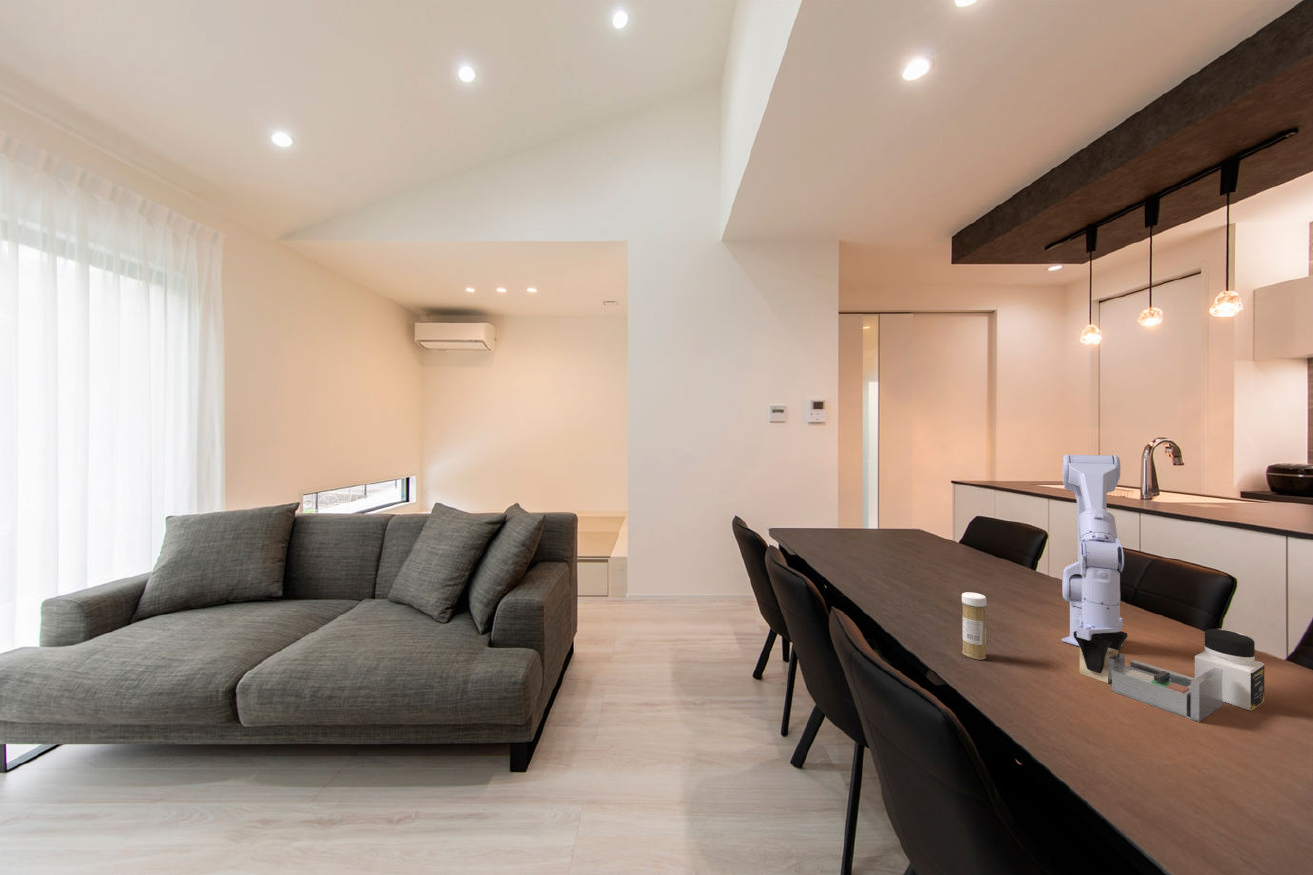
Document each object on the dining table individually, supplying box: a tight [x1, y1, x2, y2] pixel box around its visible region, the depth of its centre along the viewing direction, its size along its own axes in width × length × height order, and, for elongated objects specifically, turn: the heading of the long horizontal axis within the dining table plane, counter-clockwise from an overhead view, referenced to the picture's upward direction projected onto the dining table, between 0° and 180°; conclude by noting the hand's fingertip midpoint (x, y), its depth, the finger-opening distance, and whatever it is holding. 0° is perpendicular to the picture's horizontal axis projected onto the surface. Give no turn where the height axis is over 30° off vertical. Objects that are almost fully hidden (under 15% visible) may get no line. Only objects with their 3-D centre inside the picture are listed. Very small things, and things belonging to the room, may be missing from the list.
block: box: [1079, 647, 1119, 684], centre depth 99 cm, size 4×4×6 cm
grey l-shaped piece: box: [1108, 652, 1172, 682], centre depth 93 cm, size 8×8×4 cm
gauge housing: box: [1111, 659, 1223, 723], centre depth 91 cm, size 11×12×6 cm
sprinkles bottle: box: [961, 591, 987, 661], centre depth 108 cm, size 5×5×14 cm
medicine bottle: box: [1194, 628, 1265, 712], centre depth 91 cm, size 7×7×12 cm
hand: (1100, 668), depth 99 cm, fingers closed on block, 4 cm apart
